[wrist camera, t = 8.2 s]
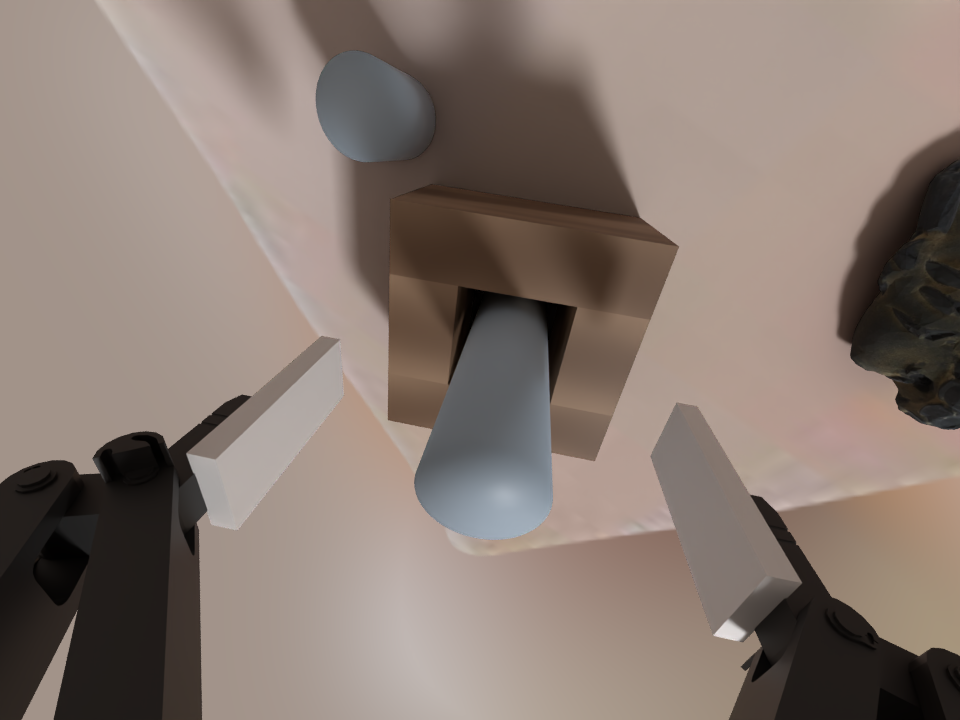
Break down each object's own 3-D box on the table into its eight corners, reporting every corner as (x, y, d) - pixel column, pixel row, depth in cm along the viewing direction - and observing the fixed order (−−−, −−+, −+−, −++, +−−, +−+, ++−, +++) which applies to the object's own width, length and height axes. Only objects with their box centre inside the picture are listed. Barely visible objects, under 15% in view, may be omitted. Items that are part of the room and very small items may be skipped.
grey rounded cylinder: (366, 64, 20) (315, 39, 15) (441, 83, 20) (410, 63, 15) (362, 150, 22) (315, 150, 17) (429, 167, 22) (399, 172, 17)
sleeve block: (431, 184, 22) (390, 199, 16) (640, 217, 21) (679, 246, 15) (421, 360, 28) (387, 420, 22) (583, 391, 27) (594, 461, 21)
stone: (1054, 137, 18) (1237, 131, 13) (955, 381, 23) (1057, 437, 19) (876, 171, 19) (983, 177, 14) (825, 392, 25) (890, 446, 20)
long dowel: (489, 263, 24) (417, 428, 10) (552, 274, 24) (568, 458, 10) (481, 321, 26) (411, 524, 12) (539, 332, 26) (536, 550, 12)
